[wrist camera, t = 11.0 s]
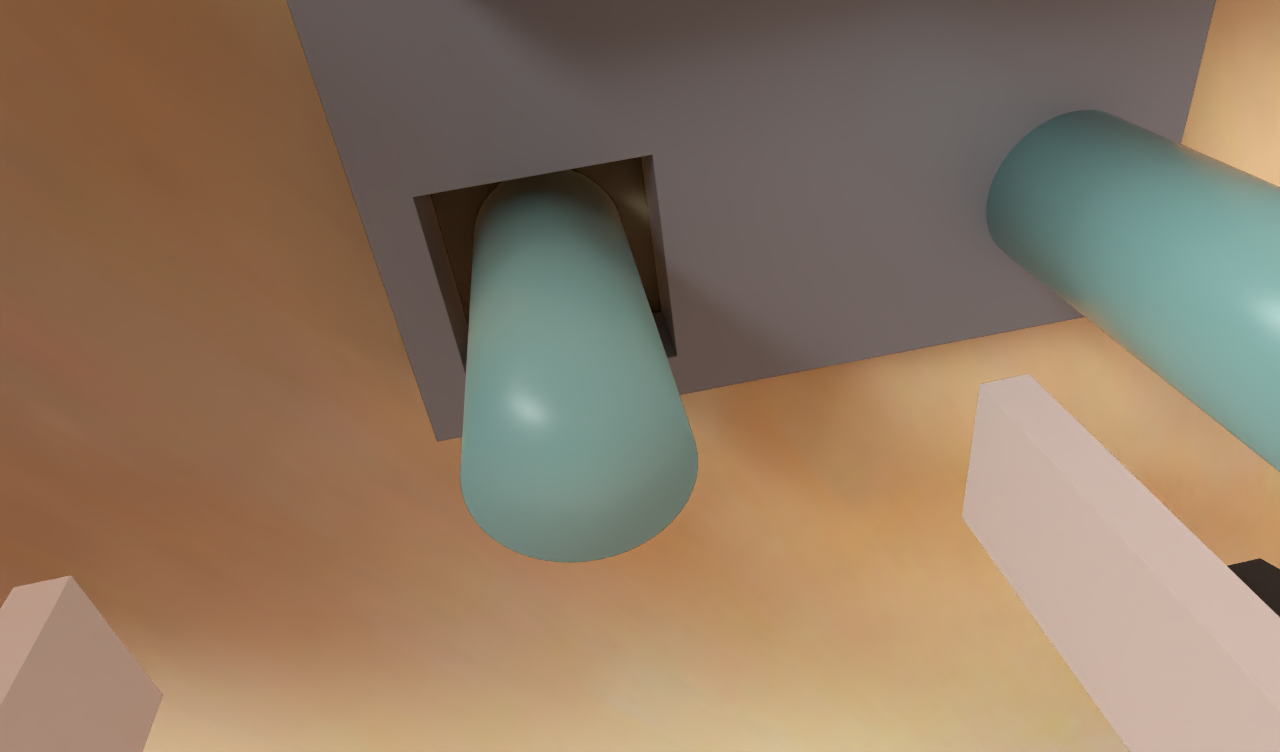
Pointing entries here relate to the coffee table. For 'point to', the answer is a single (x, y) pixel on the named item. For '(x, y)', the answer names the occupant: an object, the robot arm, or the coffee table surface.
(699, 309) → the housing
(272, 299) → the coffee table surface
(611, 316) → the peg
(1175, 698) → the robot arm
